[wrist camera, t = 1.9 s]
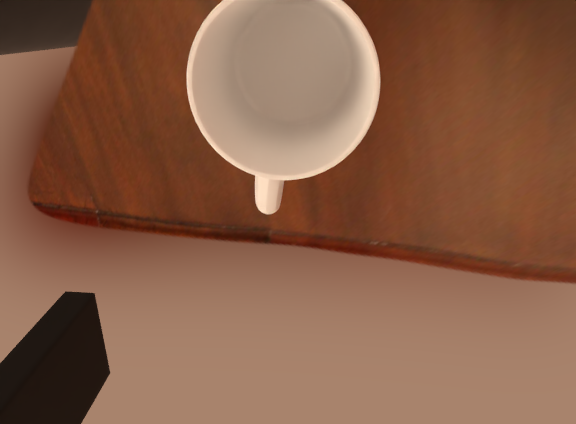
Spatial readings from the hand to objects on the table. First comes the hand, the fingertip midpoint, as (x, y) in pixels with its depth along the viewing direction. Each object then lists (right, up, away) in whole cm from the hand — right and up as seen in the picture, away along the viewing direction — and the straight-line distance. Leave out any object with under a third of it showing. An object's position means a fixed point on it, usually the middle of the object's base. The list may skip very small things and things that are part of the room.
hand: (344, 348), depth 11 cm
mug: (-1, +12, +17) cm, 21 cm away
